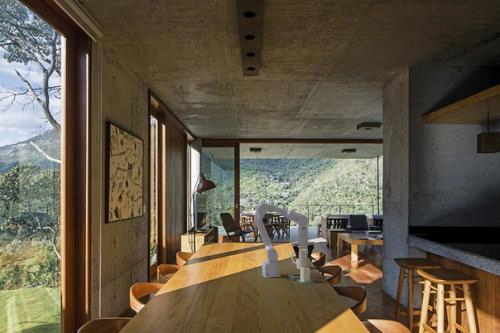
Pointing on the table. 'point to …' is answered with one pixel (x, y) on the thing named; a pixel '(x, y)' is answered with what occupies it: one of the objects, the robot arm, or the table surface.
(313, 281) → the mat
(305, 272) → the plug
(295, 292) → the table surface
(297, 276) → the grey square frame
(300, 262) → the mug
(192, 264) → the table surface
